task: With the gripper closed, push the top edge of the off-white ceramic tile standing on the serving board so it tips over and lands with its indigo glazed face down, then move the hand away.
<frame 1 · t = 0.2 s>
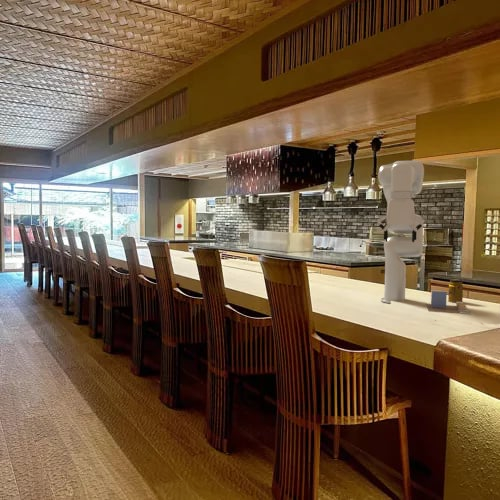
hand: (399, 241, 166), 31 cm above the worktop, tool pointing down, fingers open, 9 cm apart
tile: (438, 306, 191), point 1 cm above the worktop, touching board
condiment: (457, 305, 204), on the worktop
turner: (462, 309, 185), point 1 cm above the worktop, touching board
board: (446, 312, 187), on the worktop
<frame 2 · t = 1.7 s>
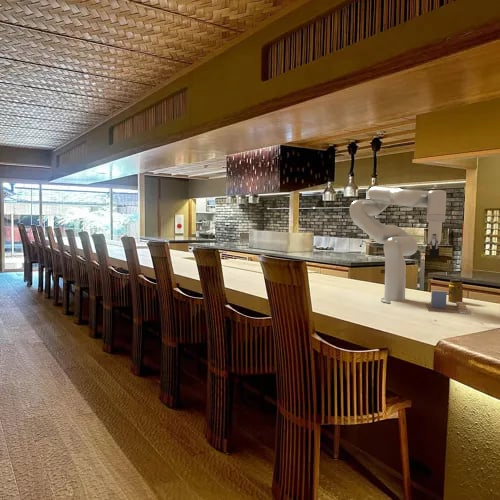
hand: (434, 257, 192), 23 cm above the worktop, tool pointing down, fingers open, 9 cm apart
nothing on the worktop moved.
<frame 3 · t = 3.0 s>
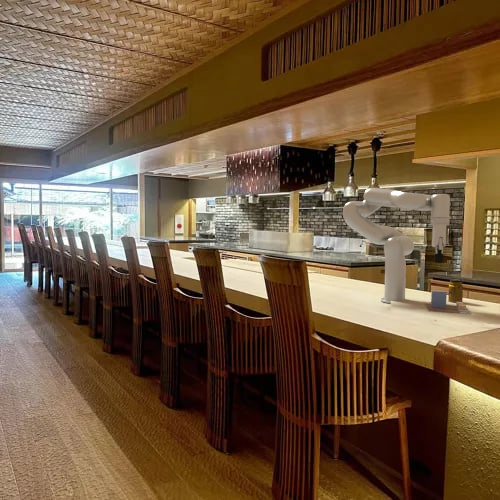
hand: (438, 262, 195), 21 cm above the worktop, tool pointing down, fingers closed
nothing on the worktop moved.
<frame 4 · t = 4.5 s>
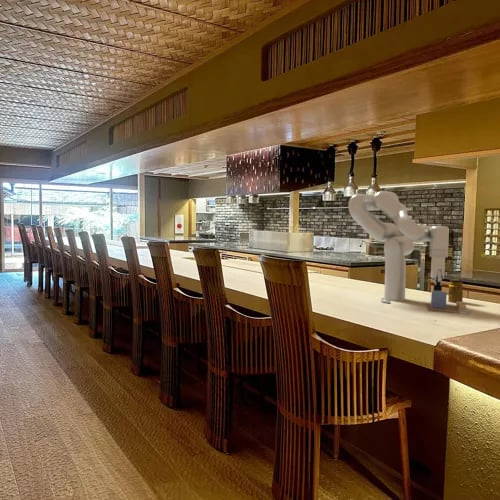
hand: (437, 294, 196), 6 cm above the worktop, tool pointing down, fingers closed
nothing on the worktop moved.
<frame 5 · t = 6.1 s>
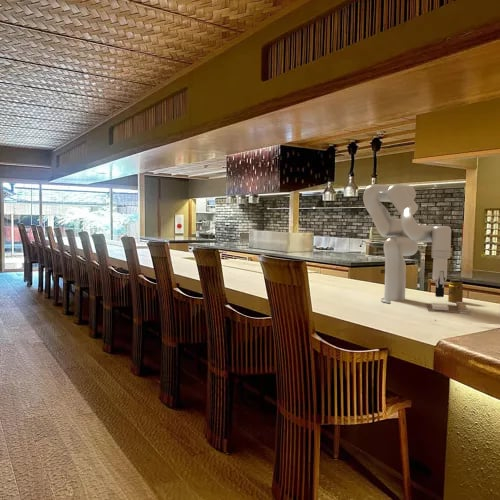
hand: (439, 296, 189), 6 cm above the worktop, tool pointing down, fingers closed
tile: (438, 305, 190), point 2 cm above the worktop, tilted 90°, touching board
everything else where it was.
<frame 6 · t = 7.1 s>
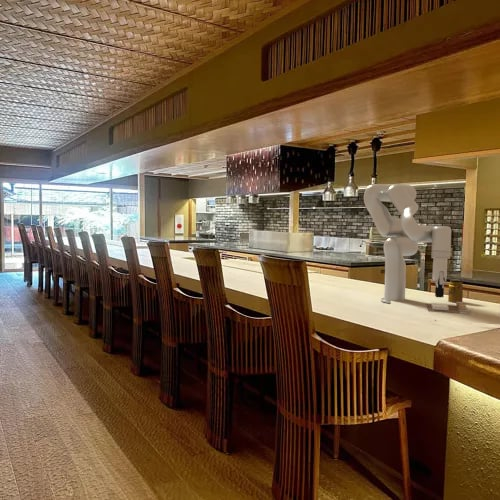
hand: (439, 296, 188), 6 cm above the worktop, tool pointing down, fingers closed
nothing on the worktop moved.
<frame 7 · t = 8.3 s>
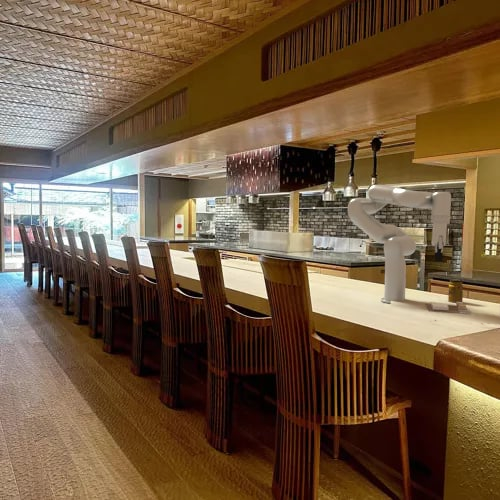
hand: (438, 261, 193), 21 cm above the worktop, tool pointing down, fingers closed
nothing on the worktop moved.
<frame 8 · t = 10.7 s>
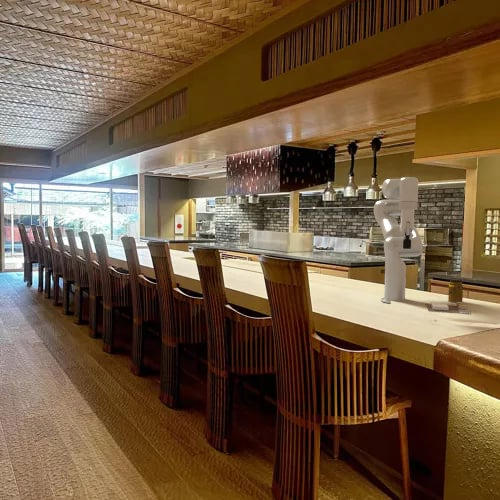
hand: (406, 248, 188), 27 cm above the worktop, tool pointing down, fingers closed
nothing on the worktop moved.
at the end: tile tilted 90°; tile inside the target area on the board (3.6 cm from its centre), point 2.4 cm above the board's base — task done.
